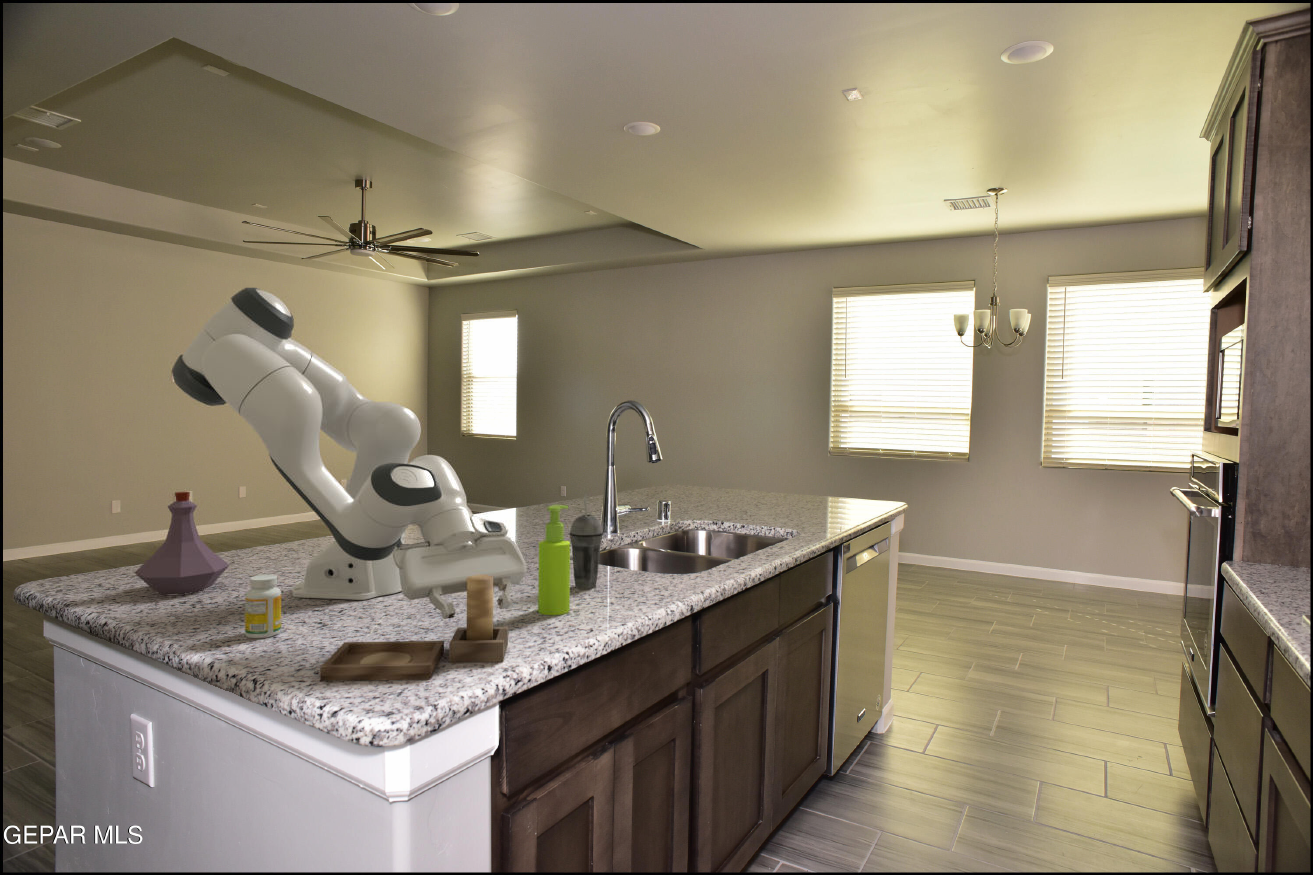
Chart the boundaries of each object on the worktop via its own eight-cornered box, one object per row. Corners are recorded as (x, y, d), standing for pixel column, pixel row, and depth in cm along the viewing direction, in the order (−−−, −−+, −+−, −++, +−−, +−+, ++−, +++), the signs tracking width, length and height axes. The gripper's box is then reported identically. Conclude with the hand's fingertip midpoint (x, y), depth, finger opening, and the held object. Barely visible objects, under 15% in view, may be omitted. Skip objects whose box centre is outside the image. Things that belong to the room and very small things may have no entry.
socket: (449, 662, 112) (449, 643, 112) (457, 645, 120) (457, 627, 120) (503, 661, 113) (503, 642, 113) (508, 644, 121) (508, 626, 120)
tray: (320, 681, 104) (320, 667, 103) (344, 654, 114) (344, 642, 114) (430, 678, 105) (430, 665, 105) (444, 653, 116) (444, 640, 116)
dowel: (464, 658, 114) (465, 580, 113) (468, 649, 118) (468, 574, 117) (491, 657, 114) (491, 580, 114) (494, 649, 118) (494, 574, 118)
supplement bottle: (253, 641, 120) (252, 582, 120) (239, 634, 124) (239, 577, 123) (287, 633, 125) (286, 576, 124) (273, 627, 128) (272, 571, 128)
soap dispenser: (576, 607, 144) (578, 504, 143) (560, 616, 137) (562, 508, 136) (549, 604, 145) (550, 502, 145) (532, 613, 139) (533, 507, 138)
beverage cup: (605, 583, 163) (606, 492, 162) (599, 591, 156) (600, 496, 155) (572, 582, 164) (573, 491, 163) (565, 590, 156) (566, 495, 156)
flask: (186, 577, 162) (185, 486, 161) (248, 583, 158) (247, 490, 157) (113, 595, 146) (112, 494, 145) (179, 603, 142) (178, 499, 141)
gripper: (395, 534, 114) (418, 611, 107) (514, 522, 127) (542, 590, 120) (385, 557, 118) (407, 633, 111) (502, 544, 131) (528, 611, 124)
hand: (478, 611), depth 116 cm, fingers open, 8 cm apart
